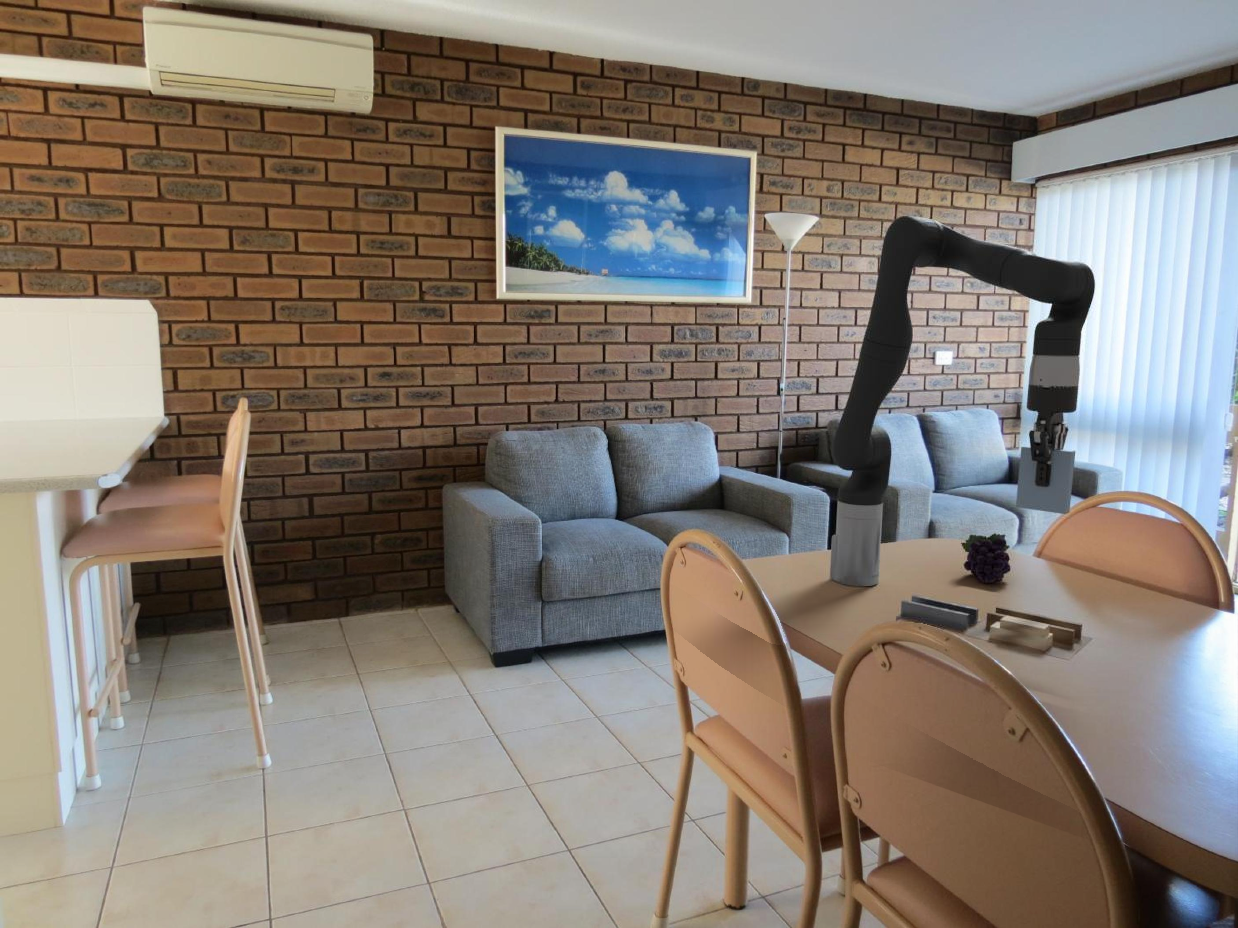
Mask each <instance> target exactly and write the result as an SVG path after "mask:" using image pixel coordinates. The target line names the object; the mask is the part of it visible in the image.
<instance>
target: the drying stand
mask: <svg viewBox="0 0 1238 928" xmlns="http://www.w3.org/2000/svg"><path fill="white" fill-rule="evenodd" d="M900 602H901V603H900V604H901V605H900V606H901V607H900V614H898V615H896V618H895V620H896V621H899V620H901V619H906V620H910V621H914V622H918V623H923V624H927V625H931V626H936V627H939V628H943V629H948V630H952V631H957V632H961V633H963V632H966V630H967V629H968V630H969V629H970V628H972V627H973V626H974V625H975V624H976V625H977V624H978V623H980V621H981V619H980V618H979V608H977V607H974V606H968V605H963V604H958V603H954V602H950V601H945V600H940V599H935V598H931V597H926V596H922V595H917V594H912V595H911V600H907V599H903V600H901V601H900Z"/></svg>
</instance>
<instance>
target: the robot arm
mask: <svg viewBox="0 0 1238 928" xmlns="http://www.w3.org/2000/svg"><path fill="white" fill-rule="evenodd" d="M880 254H881V255H880V259H879V267H878V274H877V280H876V286H875V291H874V296H873V300H872V305H871V307H870V308H871V309H870V313H869V317H868V322H867V326H866V329H865V332H864V336H863V339H862V343H861V348H860V351H859V355H858V361H857V364H856V369H855V372H854V376H853V378H852V379H853V380H852V383H851V387H850V391H849V394H848V396H847V397H848V398H847V401H846V404H845V407H844V410H843V412H842V414H841V416H840V417H841V418H840V421H839V423H838V425H837V428H836V431H835V434H834V437H833V443H832V457H833V460H834V462H835V464H836V465H837V466H838V467H839V468H840V469H842V470H844V471H850V472H851V475H850V476H849V477H848V479H847V480H846V481H845V482H844V483H843V484H841V485H840V486H839V488H838V489H837V506H836V507H837V509H836V525H835V526H836V528H835V533H834V534H833V535H832V536H831V543H830V544H831V545H830V547H831V549H830V566H829V567H830V568H829V579H830V580H834V581H835V582H837V583H839V584H842V585H847V586H853V587H872V586H876V585H878V583H879V582H880V581H879V580H880V579H879V577H880V563H881V561H880V560H881V547H882V546H881V545H882V544H881V543H882V542H881V541H882V530H883V529H882V526H883V509H884V498H885V497H884V496H885V494H886V492H887V490H888V487H889V482H890V481H889V479H890V474H891V473H890V472H891V463H892V443H891V438H890V436H889V433H888V432H887V431H886V429H884V428H883V427H881V426H880V425H877V424H874V423H875V419H876V417H877V414H878V411H879V409H880V407H881V405H882V403H883V402H884V401H885V399H886V398H887V396H888V395H889V394H890V392H891V391H892V389H893V388H894V387H895V385H896V384H897V382H899V379H900V378H901V376H902V375H903V372H904V371H905V369H906V366H907V362H908V358H909V356H910V353H911V347H912V343H913V337H914V335H913V334H914V333H913V332H914V331H913V325H912V319H911V314H910V310H909V303H908V291H909V287H910V286H909V285H910V282H911V281H910V280H911V277H912V274H913V270H914V268H919V269H920V268H939V269H940V268H941V269H951V270H956V271H959V272H963V273H965V274H967V275H969V276H971V277H972V278H974V279H976V280H979V281H980V282H983V283H986V284H989V285H992V286H995V287H998V288H1001V289H1005V290H1009V291H1011V292H1016V293H1017V294H1020V295H1022V296H1024V297H1026V298H1028V299H1030V300H1034V301H1037V302H1039V303H1044V304H1049V305H1050V304H1051V307H1050V310H1049V313H1048V317H1046V319H1043V320H1041V321H1039V322H1037V324H1036V326H1035V329H1034V334H1033V343H1032V344H1033V345H1032V355H1031V362H1030V367H1029V371H1028V372H1029V373H1028V385H1027V386H1028V387H1027V395H1026V397H1027V398H1026V409H1027V410H1028V411H1029V412H1037V416H1036V422H1034V423H1033V429H1032V430H1029V432H1028V438H1029V446H1030V447H1031V456H1032V461H1035V463H1036V464H1037V466H1036V478H1035V484H1036V486H1042V487H1048V486H1049V485H1050V477H1051V466H1052V463H1053V452H1054V451H1056V450H1057V449H1063V450H1064V449H1065V448H1064V447H1065V443H1066V440H1067V436H1068V433H1069V427H1068V426H1067V425H1066V422H1064V421H1065V420H1064V414H1070V413H1071V414H1072V413H1075V412H1076V411H1077V408H1078V407H1077V406H1078V395H1079V383H1080V375H1081V373H1080V371H1081V364H1080V363H1081V362H1080V353H1081V342H1082V331H1083V327H1084V325H1085V323H1086V320H1087V317H1088V314H1089V312H1090V309H1091V306H1092V302H1093V299H1094V295H1095V289H1096V281H1095V275H1094V272H1093V271H1092V270H1093V269H1091V267H1090V266H1089V265H1087V264H1086V263H1084V262H1081V261H1074V260H1064V259H1063V260H1061V259H1055V258H1049V257H1045V256H1039V255H1037V254H1036V253H1034V252H1032V251H1030V250H1027V249H1024V248H1023V249H1022V248H1020V247H1015V246H1012V245H1007V244H1003V243H999V242H994V241H988V240H983V239H982V240H981V239H978V238H974V237H971V236H969V235H966V234H963V233H961V232H959V231H957V230H955V229H952V228H951V227H949V226H946V225H945V224H943V223H941V222H939V221H937V220H935V219H931V218H927V217H919V216H913V215H902V216H898V217H897V218H895V220H893V221H892V222H891V224H890V225H889V226H888V228H887V231H886V233H885V235H884V239H883V243H882V248H881V252H880ZM1041 451H1042V452H1043V453H1044V455H1043V454H1041Z"/></svg>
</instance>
